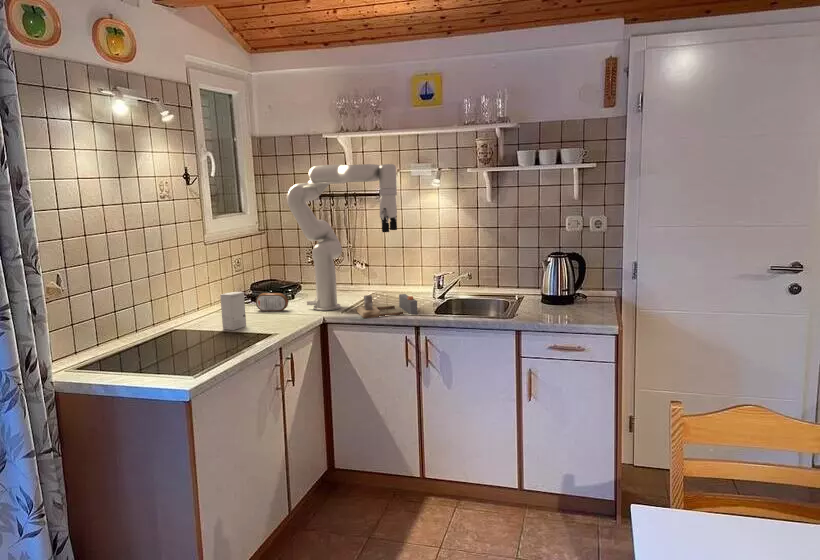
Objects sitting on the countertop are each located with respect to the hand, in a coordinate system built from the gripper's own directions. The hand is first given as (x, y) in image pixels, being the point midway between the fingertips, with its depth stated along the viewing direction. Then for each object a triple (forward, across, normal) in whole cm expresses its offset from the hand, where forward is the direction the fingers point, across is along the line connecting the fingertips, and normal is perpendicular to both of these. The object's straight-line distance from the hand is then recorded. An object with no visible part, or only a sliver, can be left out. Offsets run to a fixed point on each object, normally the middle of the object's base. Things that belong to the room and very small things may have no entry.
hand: (389, 231), depth 283 cm
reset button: (+32, +1, +9) cm, 34 cm away
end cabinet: (+36, -2, +7) cm, 37 cm away
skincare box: (+36, +45, -54) cm, 79 cm away
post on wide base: (+36, +9, -8) cm, 38 cm away
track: (+36, +6, -4) cm, 37 cm away
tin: (+36, +12, -56) cm, 68 cm away
